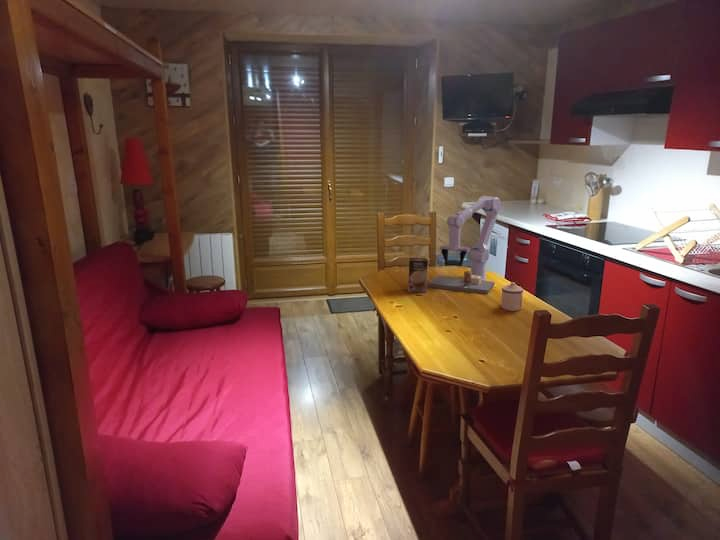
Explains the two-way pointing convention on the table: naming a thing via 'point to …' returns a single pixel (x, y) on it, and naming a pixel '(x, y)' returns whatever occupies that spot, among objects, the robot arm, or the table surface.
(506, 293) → the teacup with lid
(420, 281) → the coffee box
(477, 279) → the stud finder
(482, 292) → the subfloor board
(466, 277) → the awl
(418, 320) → the table surface
